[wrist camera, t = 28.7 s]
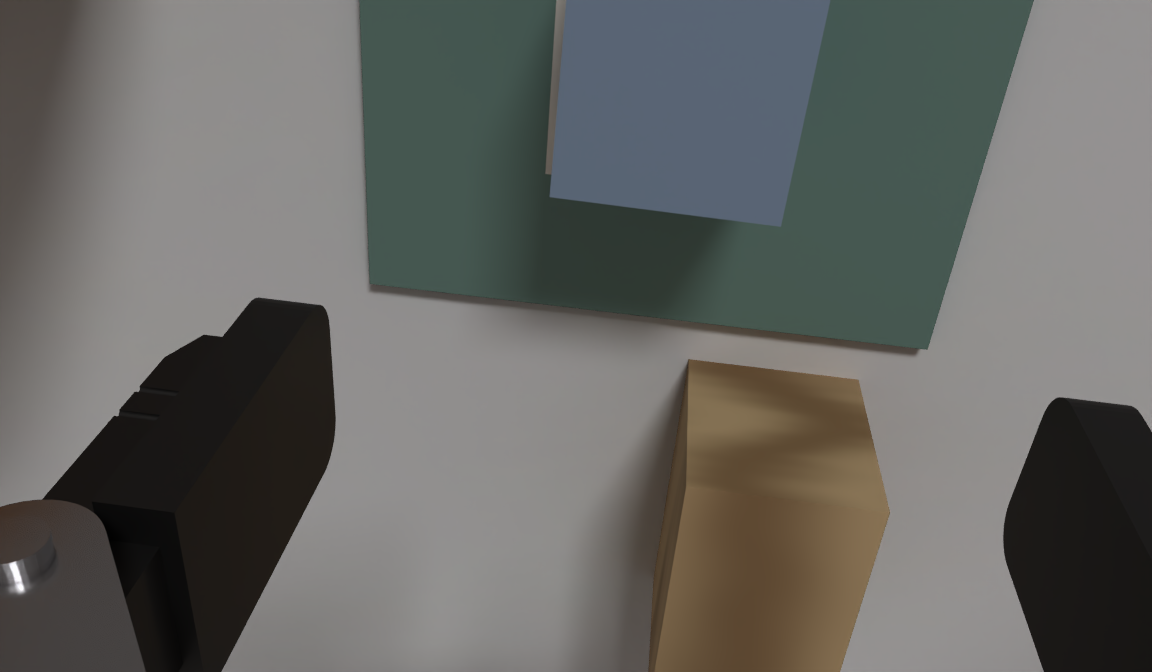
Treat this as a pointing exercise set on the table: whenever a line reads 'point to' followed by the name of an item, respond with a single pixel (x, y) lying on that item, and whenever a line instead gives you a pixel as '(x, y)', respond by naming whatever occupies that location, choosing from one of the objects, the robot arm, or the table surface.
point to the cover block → (765, 523)
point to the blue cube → (685, 104)
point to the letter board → (669, 240)
